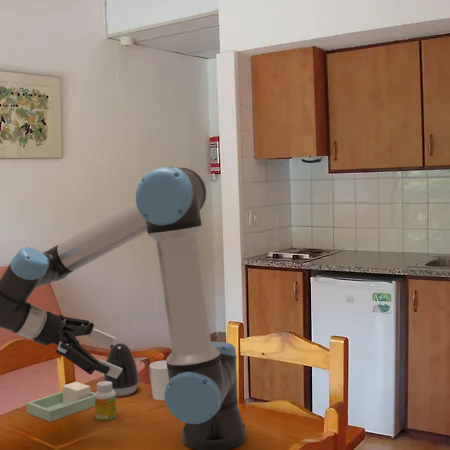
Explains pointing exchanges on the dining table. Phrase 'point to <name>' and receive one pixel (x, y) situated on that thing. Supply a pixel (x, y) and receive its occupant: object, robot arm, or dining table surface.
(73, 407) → the tray
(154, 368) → the white cup
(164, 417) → the dining table surface
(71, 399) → the off-white upright cuboid
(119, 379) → the pump dispenser
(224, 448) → the robot arm
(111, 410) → the supplement bottle
